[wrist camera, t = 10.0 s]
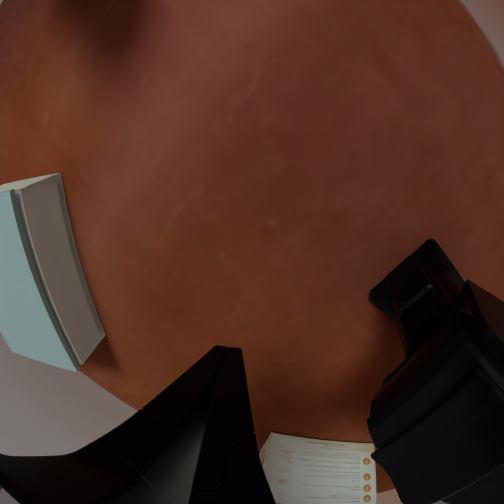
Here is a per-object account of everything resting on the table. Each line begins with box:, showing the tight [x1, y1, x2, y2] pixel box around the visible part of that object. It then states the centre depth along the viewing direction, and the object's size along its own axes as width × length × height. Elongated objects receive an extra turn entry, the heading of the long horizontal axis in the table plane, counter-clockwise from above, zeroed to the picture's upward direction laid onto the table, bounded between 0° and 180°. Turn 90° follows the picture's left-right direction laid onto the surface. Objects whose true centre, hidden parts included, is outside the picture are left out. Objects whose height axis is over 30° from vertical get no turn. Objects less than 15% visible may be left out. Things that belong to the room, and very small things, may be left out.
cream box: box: [0, 173, 105, 365], centre depth 23 cm, size 11×18×5 cm, turn 1°
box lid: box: [0, 189, 80, 372], centre depth 20 cm, size 11×18×1 cm, turn 1°
